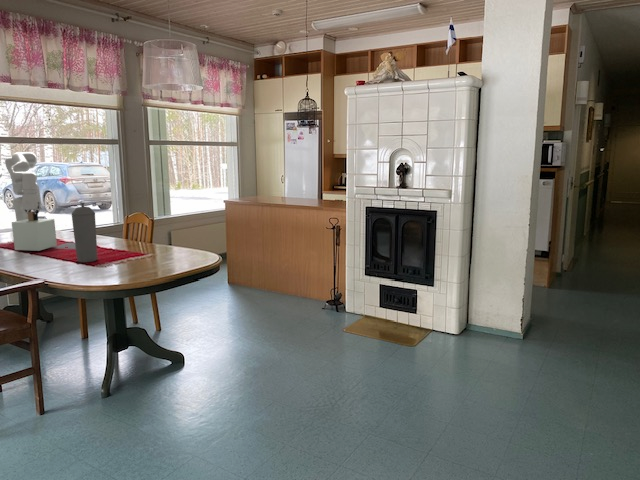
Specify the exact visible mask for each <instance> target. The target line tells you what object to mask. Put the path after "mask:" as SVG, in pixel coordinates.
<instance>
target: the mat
mask: <svg viewBox="0 0 640 480" xmlns="http://www.w3.org/2000/svg"><path fill="white" fill-rule="evenodd" d="M65 247H68V248H65ZM51 249H60V250H63V249H64V250H76V246H75V242H70V241H69V242H66V243H62V244H57V246H53V247H51Z"/></svg>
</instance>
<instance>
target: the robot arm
mask: <svg viewBox="0 0 640 480" xmlns="http://www.w3.org/2000/svg"><path fill="white" fill-rule="evenodd" d="M4 161H5V163H4V164H5V167H6V170H7V171H8V173H9V176H10V179H11V185H12V190H13V194H14V195H16V197H15V198H13V200H12V206H13V209H14V213H15V219H16V221H21V220H26V219H28V212H31V211H34V214H33V217H34V220H38V219H39V216H38V214H39V213H40V212H41V211H43V209H42V197H41V192H40V187H39V184H38V183H37V180H38V177H37V174H36V173H35V172H34V171H30V169H34V168H35V166H36V165H37V161H38V159H37V155H36V154H35V153H34V152H31V151H29V152H28V151H27V152H26V151H24V152H22V151H21V152H20V151H19V152H14V153H13V154H11V156H9V157H6V158H5V160H4ZM17 196H18V197H17ZM16 221H15V222H16Z"/></svg>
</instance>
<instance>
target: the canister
mask: <svg viewBox="0 0 640 480" xmlns="http://www.w3.org/2000/svg"><path fill="white" fill-rule="evenodd" d="M70 215H71V221H72V229H73V236H74V237H73V239H74V243H75V246H76V249H75V253H76V260H77V262H78V263H92V262H95V261H97V260H98V244H97V243H98V242H97V241H98V240H97V227H96V226H97V224H96V223H97V222H96V211H94V210H93V209H92V208H91V207H90V206H85V202H80V206H77V207H76V208H75V209H74V210H73V211H72V212H71V214H70Z"/></svg>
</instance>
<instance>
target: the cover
mask: <svg viewBox="0 0 640 480" xmlns="http://www.w3.org/2000/svg"><path fill="white" fill-rule="evenodd" d="M33 214H34V211H33V210H31V212H28V219H26V220H21V221H12V222H11V228H12V229H11V230H12V236H13V237H12V238H13V244H14V250H15V251H34V252H35V251H37V252H39V251H43V250H46V249H51V248H52V247H55V246H58V243H57V242H58V241H57V233H56V232H57V230H56V222H55V219H54V218H38V220H34V217H33Z"/></svg>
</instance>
